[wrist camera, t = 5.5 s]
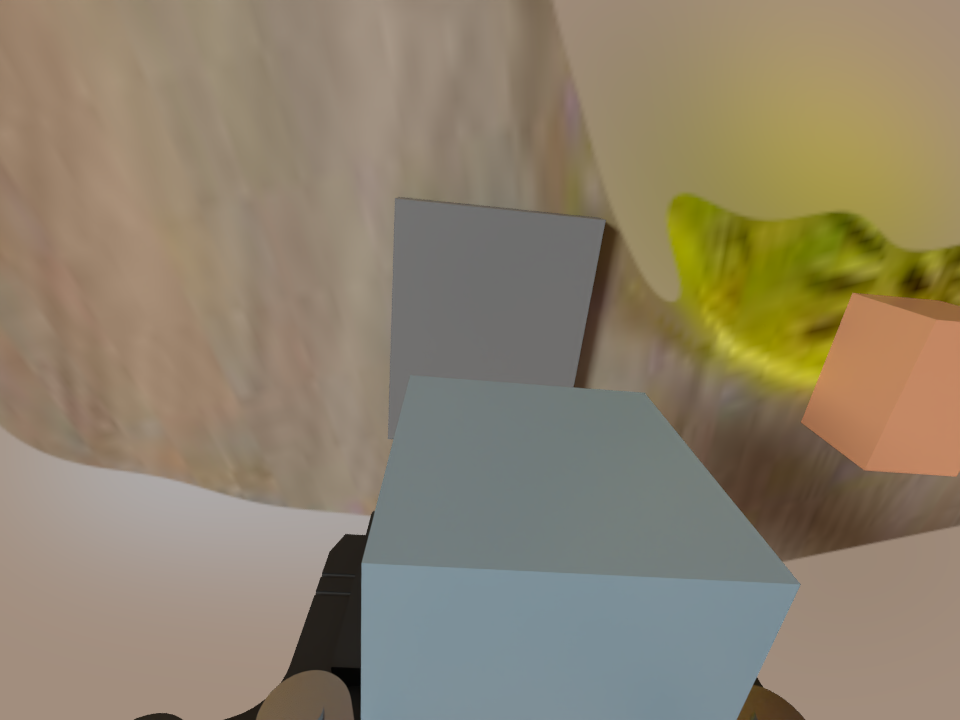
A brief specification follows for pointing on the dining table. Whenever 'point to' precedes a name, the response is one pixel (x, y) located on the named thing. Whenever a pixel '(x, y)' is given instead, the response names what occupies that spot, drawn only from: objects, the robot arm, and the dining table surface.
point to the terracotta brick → (892, 386)
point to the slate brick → (558, 564)
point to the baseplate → (488, 294)
